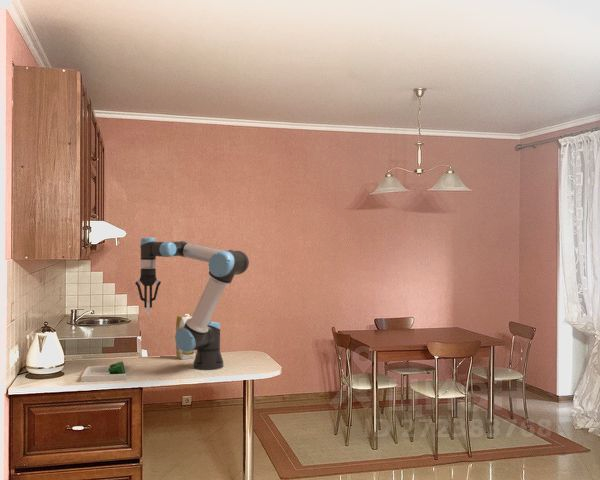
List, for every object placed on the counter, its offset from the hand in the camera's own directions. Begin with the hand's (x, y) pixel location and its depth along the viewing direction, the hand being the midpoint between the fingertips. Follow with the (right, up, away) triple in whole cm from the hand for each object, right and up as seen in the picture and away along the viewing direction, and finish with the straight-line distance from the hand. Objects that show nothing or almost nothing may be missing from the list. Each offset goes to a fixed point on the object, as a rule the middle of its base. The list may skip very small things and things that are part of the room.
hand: (148, 314), depth 316 cm
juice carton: (+15, -26, +20) cm, 37 cm away
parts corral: (-14, -27, -22) cm, 37 cm away
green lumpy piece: (-9, -27, -22) cm, 36 cm away
